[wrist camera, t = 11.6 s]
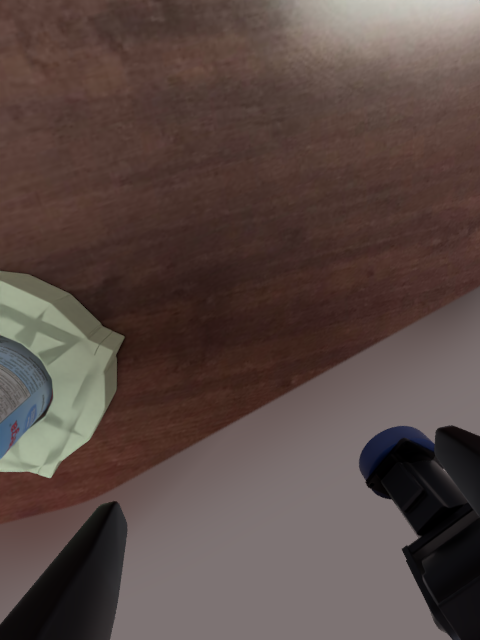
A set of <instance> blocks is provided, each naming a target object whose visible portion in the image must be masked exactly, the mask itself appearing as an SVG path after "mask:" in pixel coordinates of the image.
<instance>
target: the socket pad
mask: <svg viewBox="0 0 480 640" xmlns="http://www.w3.org/2000/svg"><path fill="white" fill-rule="evenodd" d="M0 335H1V336H4V337H6V338H9V339H11V340H14V341H16V342H18V343H21V344H22V345H23V346H25V347H26V348H27V349H28V350H29V351H31V352H32V353H33V354H34V355H35V356H37V357H38V358H39V359H40V360H41V361H42V363H43V365H44V366H45V368H46V370H47V372H48V373H49V375H50V377H51V379H52V389H53V400H52V402H51V405H50V406H49V407H48V408H47V409H46V410H45V411H44V412H43V413H42V414H41V416H40V417H39V418H38V419H37V420H36V421H35V422H34V423H33V424H32V425H31V427H30V428H29V429H28V430H27V431H26V432H25V433H24V434H23V435H22V436H21V437H20V439H19V440H18V441H17V442H16V443H15V444H14V445H13V446H12V447H11V448H10V449H9V451H8V452H7V453H6V454H5V455H4V456H3V457H2V458H1V459H0V472H25V471H29V472H32V473H35V474H37V473H38V475H41V476H45V477H48V478H51V477H52V475H53V474H54V472H55V471H56V469H57V468H58V466H59V464H60V463H61V461H62V460H63V459H65V458H66V457H67V456H69V455H70V454H71V453H73V452H74V451H75V450H77V449H78V448H79V447H81V446H82V445H83V444H85V443H86V442H87V441H89V440H90V439H91V437H92V435H93V433H94V431H95V430H96V428H97V426H98V424H99V423H100V421H101V419H102V417H103V416H104V414H105V412H106V410H107V408H108V406H109V404H110V402H111V400H112V398H113V396H114V394H115V392H116V389H117V358H116V354H117V352H118V350H119V348H120V346H121V344H122V342H123V340H124V338H125V336H123V335H121V334H118V333H116V332H114V331H113V332H112V330H110V329H107V328H105V327H103V326H102V325H101V323H100V322H99V321H98V320H97V319H96V318H95V317H94V316H93V315H92V314H91V313H90V312H89V311H88V310H87V309H86V308H85V307H84V306H83V305H82V304H81V303H80V302H79V301H77V300H76V299H75V298H74V297H73V296H72V295H71V294H70V293H67V292H65V291H63V290H61V289H59V288H57V287H55V286H53V285H50V284H48V283H46V282H44V281H42V280H40V279H38V278H36V277H33V276H31V275H29V274H23V273H14V272H4V271H0Z"/></svg>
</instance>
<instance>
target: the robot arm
mask: <svg viewBox="0 0 480 640" xmlns="http://www.w3.org/2000/svg"><path fill="white" fill-rule="evenodd" d="M434 451H435V452H434ZM434 451H432V450H430V449H428V448H426V447H424V446H422V445H420V444H418V443H416V442H414V441H411V440H409V439H407V438H402V439H400V440H399V441H398V443H397V444H396V445H395V446H394V447H393V449H392V450H391V451H390V452H389V453H388V455H387V456H386V457H385V458H384V459H383V460H382V462H381V463H380V464H379V465H378V466H377V468H376V469H375V470H374V471H373V472H372V474H371V475H370V476H369V477H368V478H367V480H366V482H365V483H366V485H367V486H368V488H370V489H373V490H375V491H378V492H380V493H383V494H385V495H387V496H390V497H391V499H392V500H393V501H394V503H395V504H396V506H397V507H398V509H399V510H400V511H401V513H402V515H403V516H404V517H405V519H406V520H407V522H408V523H409V525H410V526H411V528H412V529H413V531H414V532H415V533H416V535H417V536H418V539H417V540H416V541H414V542H413V543H412V544H410V545H409V546H405V547H404V548H402V551H403V553H404V555H405V557H406V559H407V560H406V562H407V564H408V566H409V567H410V570H411V572H412V574H413V576H414V578H415V580H416V582H417V584H418V586H419V588H420V590H421V592H422V594H423V596H424V598H425V600H426V602H427V604H428V607H429V609H430V612H431V615H432V617H433V620H434V622H435V624H436V625H437V627H438V628H439V629H440V630H441V631H443V632H445V633H447V634H448V635H449V636H450V637H451V638H452V640H480V436H478V435H475V434H473V433H471V432H468V431H466V430H463V429H460V428H458V427H455V426H445V427H441V428H438V429H437V430H436V435H435V448H434ZM443 469H445V470H446V472H447V473H448V474H447V473H446V472H445V471H444V470H443ZM126 537H127V522H126V519H125V517H124V515H123V512H122V510H121V508H120V505H119V504H118V502H116V501H113V502H109V503H104V504H102V505H100V506H99V507H98V508H97V509H96V510H95V512H94V513H93V514H92V515H91V516H90V517H89V519H88V520H87V521H86V522H85V523H84V525H83V526H82V527H81V528H80V530H79V531H78V532H77V533H76V534H75V536H74V537H73V538H72V539H71V540H70V541H69V543H68V544H67V545H66V546H65V547H64V549H63V550H62V551H61V553H59V555H58V556H57V557H56V558H55V559H54V561H53V562H52V563H51V564H50V565H49V567H48V568H47V569H46V570H45V571H44V573H43V574H42V575H41V576H40V577H39V579H38V580H37V581H36V582H35V583H34V585H33V586H32V587H31V588H30V590H29V591H28V592H27V593H26V594H25V595H24V597H23V598H22V599H21V600H20V601H19V603H18V604H17V605H16V606H15V607H14V609H13V610H12V611H11V612H10V613H9V615H8V616H7V617H6V618H5V619H4V621H3V622H2V623H1V624H0V640H110V637H111V632H112V628H113V623H114V619H115V614H116V608H117V603H118V597H119V590H120V582H121V575H122V567H123V560H124V552H125V545H126Z"/></svg>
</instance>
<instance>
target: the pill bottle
mask: <svg viewBox="0 0 480 640" xmlns="http://www.w3.org/2000/svg"><path fill="white" fill-rule="evenodd" d="M52 400H53V389H52V379H51V377H50V375H49V373H48V372H47V370H46V368H45V366H44V365H43V363H42V361H41V360H40V359H39V358H38V357H37V356H35V355H34V354H33V353H32V352H31V351H29V350H28V349H27V348H26V347H25V346H23V345H22V344H21V343H18V342H16V341H14V340H11V339H9V338H6V337H4V336H1V335H0V459H1V458H2V457H3V456H4V455H5V454H6V453H7V452H8V451H9V449H10V448H11V447H12V446H13V445H14V444H15V443H16V442H17V441H18V440H19V439H20V437H21V436H22V435H23V434H24V433H25V432H26V431H27V430H28V429H29V428H30V427H31V425H32V424H33V423H34V422H35V421H36V420H37V419H38V418H39V417H40V416H41V414H42V413H43V412H44V411H45V410H46V409H47V408H48V407H49V406H50V405H51V402H52Z"/></svg>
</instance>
